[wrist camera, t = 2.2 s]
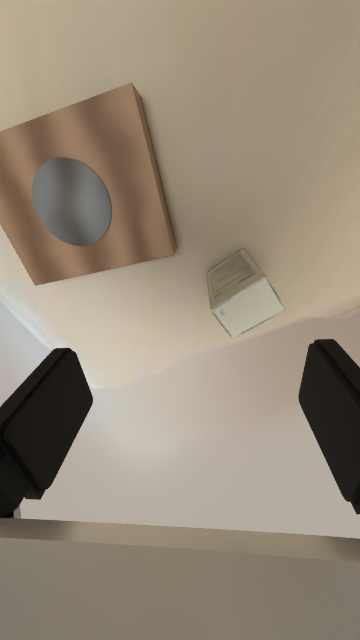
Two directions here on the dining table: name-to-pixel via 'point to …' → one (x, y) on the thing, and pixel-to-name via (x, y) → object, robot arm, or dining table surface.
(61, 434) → the robot arm
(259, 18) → the dining table surface
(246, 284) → the skincare box
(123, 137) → the walnut stand
